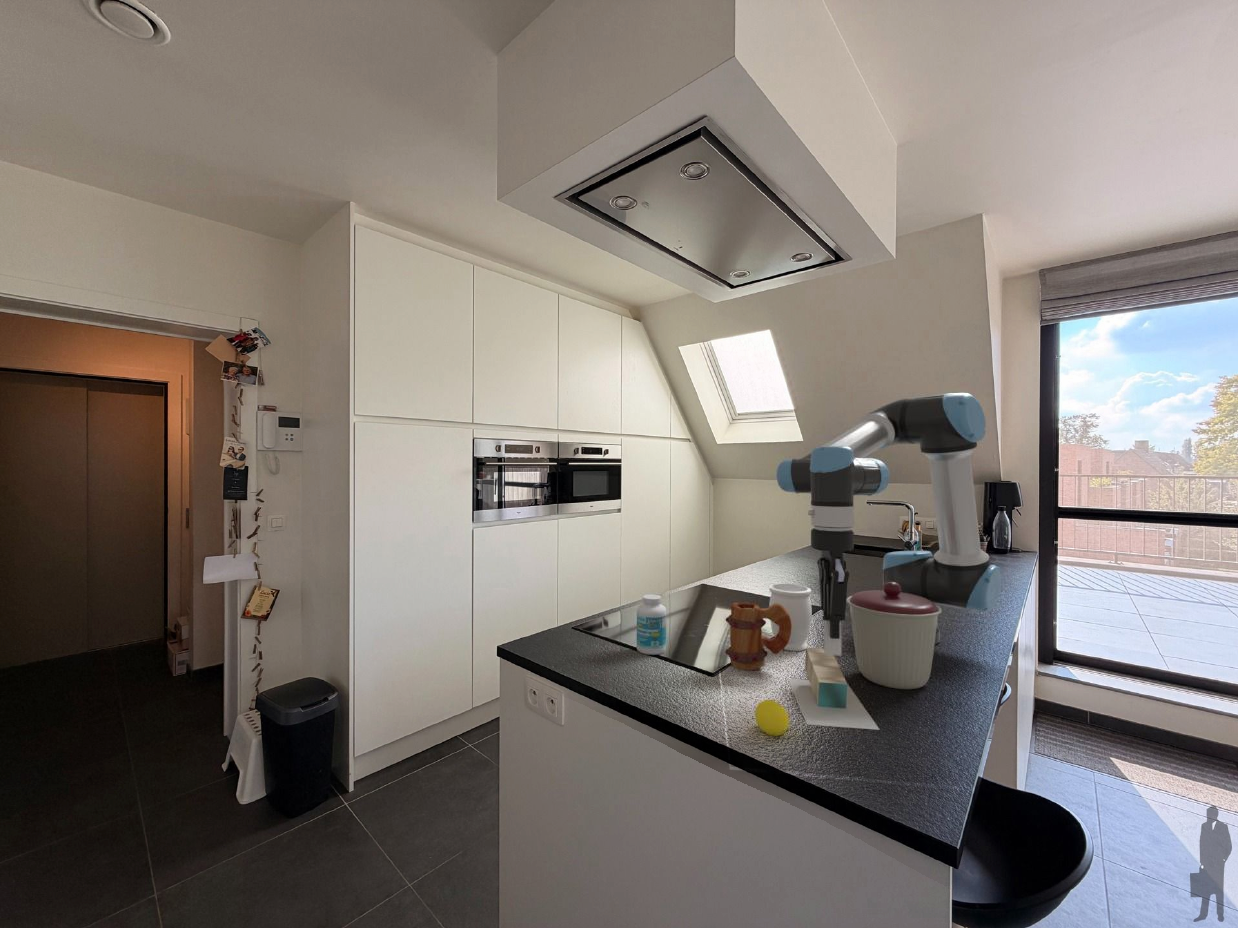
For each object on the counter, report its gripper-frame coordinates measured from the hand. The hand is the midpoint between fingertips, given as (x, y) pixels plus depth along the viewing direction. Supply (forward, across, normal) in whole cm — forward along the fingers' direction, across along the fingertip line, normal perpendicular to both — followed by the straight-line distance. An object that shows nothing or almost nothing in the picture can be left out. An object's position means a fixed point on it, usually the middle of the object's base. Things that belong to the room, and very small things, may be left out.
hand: (832, 653), depth 97 cm
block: (+8, 0, 0) cm, 8 cm away
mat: (+11, -3, 0) cm, 11 cm away
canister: (+11, -17, +16) cm, 26 cm away
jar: (+11, -36, -2) cm, 37 cm away
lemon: (+11, +10, -13) cm, 20 cm away
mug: (+11, -19, -12) cm, 25 cm away
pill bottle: (+11, -27, -36) cm, 47 cm away
